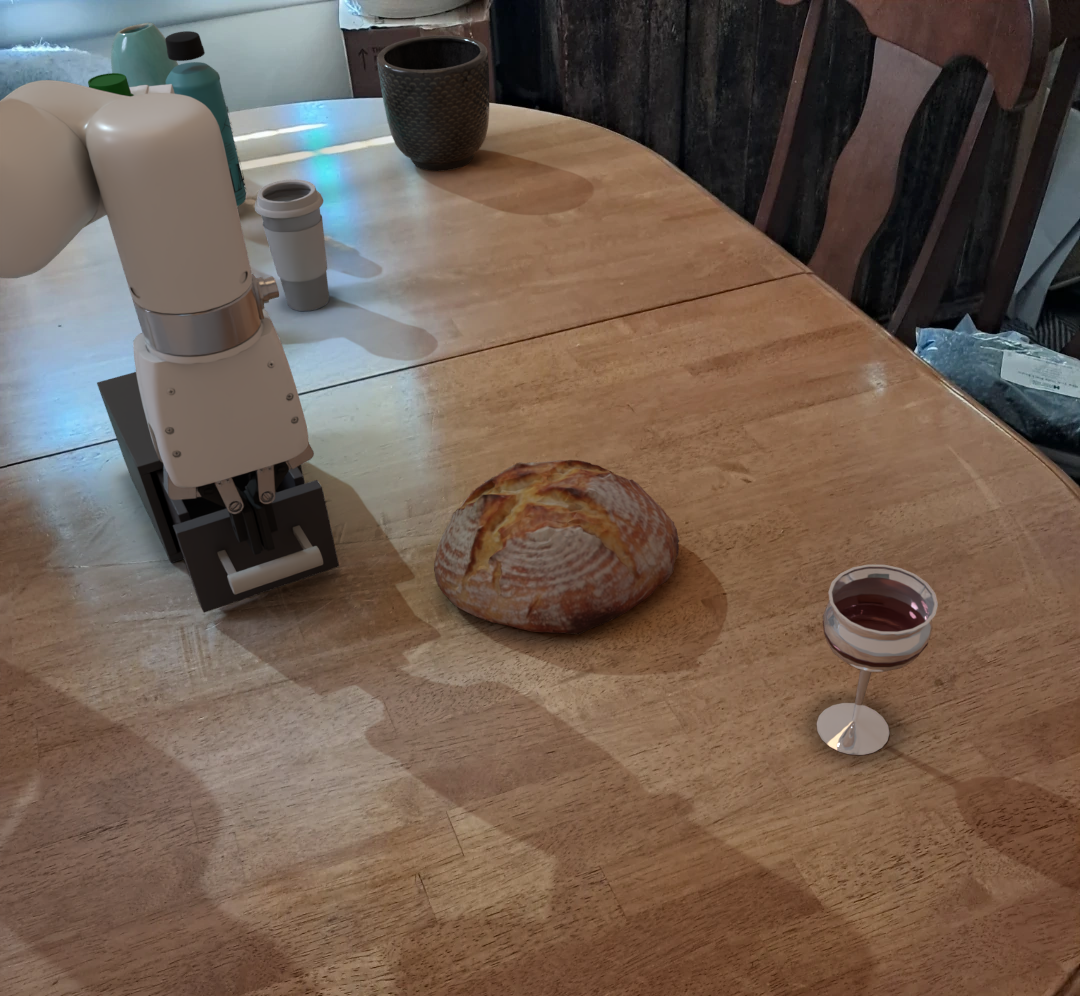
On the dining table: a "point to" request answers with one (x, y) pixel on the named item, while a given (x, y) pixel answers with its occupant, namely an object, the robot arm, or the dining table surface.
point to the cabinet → (139, 452)
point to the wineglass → (872, 644)
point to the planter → (436, 98)
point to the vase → (141, 55)
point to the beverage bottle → (204, 95)
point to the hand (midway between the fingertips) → (258, 541)
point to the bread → (555, 548)
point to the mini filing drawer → (232, 566)
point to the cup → (296, 241)
